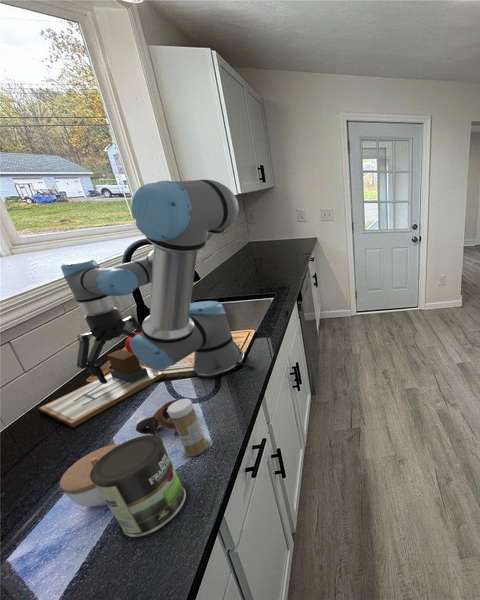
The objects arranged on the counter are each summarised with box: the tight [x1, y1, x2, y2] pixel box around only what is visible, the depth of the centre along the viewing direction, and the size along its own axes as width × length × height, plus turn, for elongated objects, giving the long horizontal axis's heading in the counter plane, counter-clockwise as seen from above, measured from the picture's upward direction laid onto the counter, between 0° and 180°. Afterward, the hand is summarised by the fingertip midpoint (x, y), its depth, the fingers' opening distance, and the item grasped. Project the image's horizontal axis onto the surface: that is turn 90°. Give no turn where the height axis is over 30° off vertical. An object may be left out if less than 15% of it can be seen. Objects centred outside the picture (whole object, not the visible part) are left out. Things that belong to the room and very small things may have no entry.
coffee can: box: [90, 434, 187, 538], centre depth 59 cm, size 10×10×14 cm
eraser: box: [106, 349, 148, 383], centre depth 101 cm, size 11×5×8 cm, turn 67°
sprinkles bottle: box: [167, 398, 208, 457], centre depth 72 cm, size 5×5×13 cm
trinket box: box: [59, 443, 121, 508], centre depth 64 cm, size 11×11×9 cm
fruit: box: [124, 331, 141, 354], centre depth 117 cm, size 9×9×10 cm
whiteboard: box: [38, 365, 165, 428], centre depth 97 cm, size 18×24×2 cm
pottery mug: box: [135, 398, 196, 437], centre depth 80 cm, size 12×10×8 cm
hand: (128, 370), depth 102 cm, fingers open, 13 cm apart
